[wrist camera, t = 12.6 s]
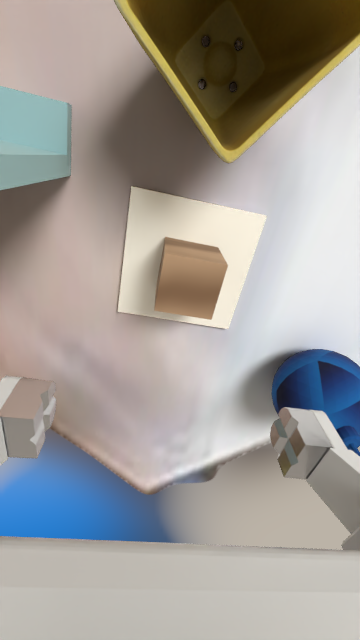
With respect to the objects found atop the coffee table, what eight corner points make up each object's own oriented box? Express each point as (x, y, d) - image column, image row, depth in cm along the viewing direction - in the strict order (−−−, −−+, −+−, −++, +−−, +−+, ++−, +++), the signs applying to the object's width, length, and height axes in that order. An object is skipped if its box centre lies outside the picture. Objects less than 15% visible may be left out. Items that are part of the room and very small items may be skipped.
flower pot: (129, 54, 20) (105, -12, 12) (231, -72, 17) (286, -264, 9) (207, 164, 23) (227, 168, 15) (301, 74, 20) (383, 24, 13)
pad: (131, 186, 24) (131, 186, 23) (265, 215, 25) (267, 216, 25) (118, 309, 30) (117, 311, 29) (227, 327, 31) (228, 329, 31)
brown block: (165, 236, 26) (164, 253, 21) (217, 247, 26) (228, 265, 22) (155, 288, 28) (153, 312, 24) (204, 296, 29) (211, 321, 24)
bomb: (297, 409, 38) (364, 538, 25) (244, 369, 34) (291, 498, 21) (361, 366, 35) (477, 490, 22) (310, 316, 31) (414, 432, 18)
